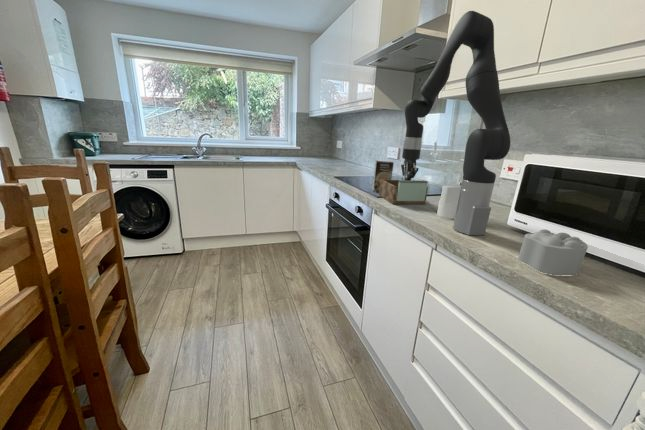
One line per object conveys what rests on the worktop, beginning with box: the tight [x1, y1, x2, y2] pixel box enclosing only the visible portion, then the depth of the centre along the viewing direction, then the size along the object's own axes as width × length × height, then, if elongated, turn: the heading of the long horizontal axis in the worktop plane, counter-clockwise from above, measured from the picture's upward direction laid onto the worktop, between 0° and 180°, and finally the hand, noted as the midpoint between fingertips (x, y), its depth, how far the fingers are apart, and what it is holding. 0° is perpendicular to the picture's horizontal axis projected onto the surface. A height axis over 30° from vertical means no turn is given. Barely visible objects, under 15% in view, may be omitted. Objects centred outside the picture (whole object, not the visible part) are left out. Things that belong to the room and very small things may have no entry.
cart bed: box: [378, 179, 429, 205], centre depth 133 cm, size 18×16×8 cm
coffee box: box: [371, 160, 394, 193], centre depth 149 cm, size 9×6×16 cm
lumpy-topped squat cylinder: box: [517, 228, 589, 276], centre depth 70 cm, size 10×13×9 cm
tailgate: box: [397, 179, 429, 201], centre depth 123 cm, size 1×13×9 cm, turn 99°
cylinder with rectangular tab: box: [436, 185, 461, 220], centre depth 109 cm, size 9×9×12 cm
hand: (406, 186), depth 128 cm, fingers closed
